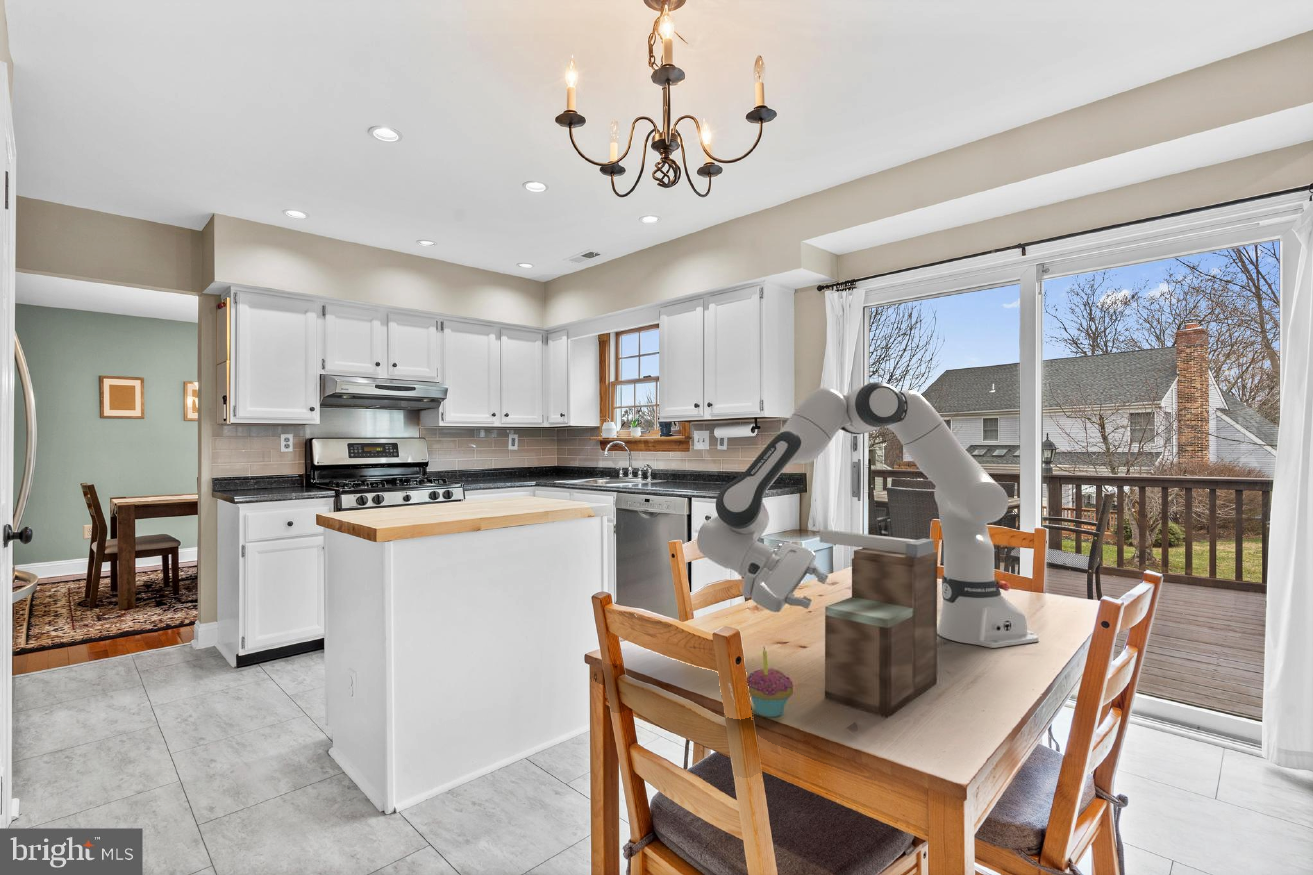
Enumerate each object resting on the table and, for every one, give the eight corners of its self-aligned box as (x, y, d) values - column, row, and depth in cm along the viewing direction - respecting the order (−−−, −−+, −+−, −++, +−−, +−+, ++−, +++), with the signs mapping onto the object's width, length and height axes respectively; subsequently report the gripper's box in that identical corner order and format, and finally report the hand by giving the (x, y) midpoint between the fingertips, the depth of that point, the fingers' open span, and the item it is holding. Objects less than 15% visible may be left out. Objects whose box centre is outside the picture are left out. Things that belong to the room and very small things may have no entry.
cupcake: (782, 725, 111) (782, 654, 111) (736, 714, 115) (736, 645, 115) (800, 707, 118) (800, 640, 118) (756, 697, 123) (756, 633, 122)
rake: (812, 543, 138) (812, 532, 138) (831, 539, 144) (831, 528, 144) (917, 557, 123) (917, 544, 123) (934, 551, 129) (934, 539, 129)
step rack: (824, 698, 122) (825, 558, 122) (878, 668, 138) (878, 543, 138) (887, 717, 114) (887, 567, 114) (936, 683, 130) (937, 551, 130)
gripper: (778, 550, 159) (832, 576, 153) (738, 599, 144) (796, 630, 138) (783, 530, 155) (838, 555, 149) (742, 578, 141) (802, 608, 134)
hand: (818, 591), depth 143 cm, fingers open, 8 cm apart
